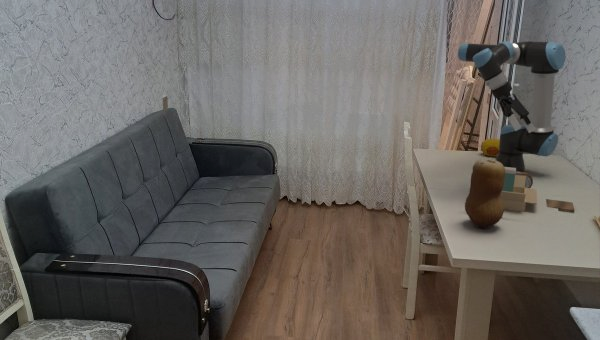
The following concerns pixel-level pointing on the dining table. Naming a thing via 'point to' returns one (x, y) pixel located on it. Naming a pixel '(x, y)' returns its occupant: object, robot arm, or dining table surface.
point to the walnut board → (561, 205)
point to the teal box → (509, 179)
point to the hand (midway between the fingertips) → (525, 130)
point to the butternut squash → (485, 193)
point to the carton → (518, 195)
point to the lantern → (490, 147)
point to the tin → (528, 178)
